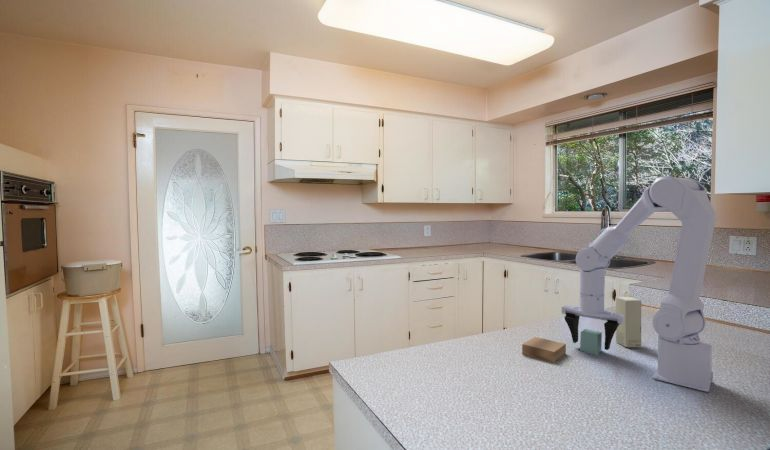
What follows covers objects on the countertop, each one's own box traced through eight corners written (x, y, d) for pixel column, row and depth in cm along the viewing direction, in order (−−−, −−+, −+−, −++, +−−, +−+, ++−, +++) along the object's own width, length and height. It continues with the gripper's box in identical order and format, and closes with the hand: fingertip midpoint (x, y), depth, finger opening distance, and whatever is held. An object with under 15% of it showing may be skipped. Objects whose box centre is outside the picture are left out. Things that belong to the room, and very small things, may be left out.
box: (641, 348, 104) (643, 300, 103) (625, 348, 104) (626, 300, 103) (629, 341, 109) (630, 296, 109) (614, 341, 109) (615, 296, 109)
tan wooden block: (565, 355, 100) (565, 343, 99) (554, 364, 94) (554, 351, 94) (534, 347, 105) (535, 336, 105) (522, 355, 99) (522, 344, 99)
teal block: (601, 350, 102) (601, 332, 102) (596, 354, 99) (597, 335, 99) (585, 347, 105) (585, 328, 104) (580, 350, 102) (580, 332, 102)
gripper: (627, 295, 99) (626, 348, 100) (568, 288, 109) (567, 335, 110) (620, 300, 94) (619, 355, 95) (559, 291, 104) (558, 341, 105)
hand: (590, 345), depth 102 cm, fingers open, 7 cm apart
